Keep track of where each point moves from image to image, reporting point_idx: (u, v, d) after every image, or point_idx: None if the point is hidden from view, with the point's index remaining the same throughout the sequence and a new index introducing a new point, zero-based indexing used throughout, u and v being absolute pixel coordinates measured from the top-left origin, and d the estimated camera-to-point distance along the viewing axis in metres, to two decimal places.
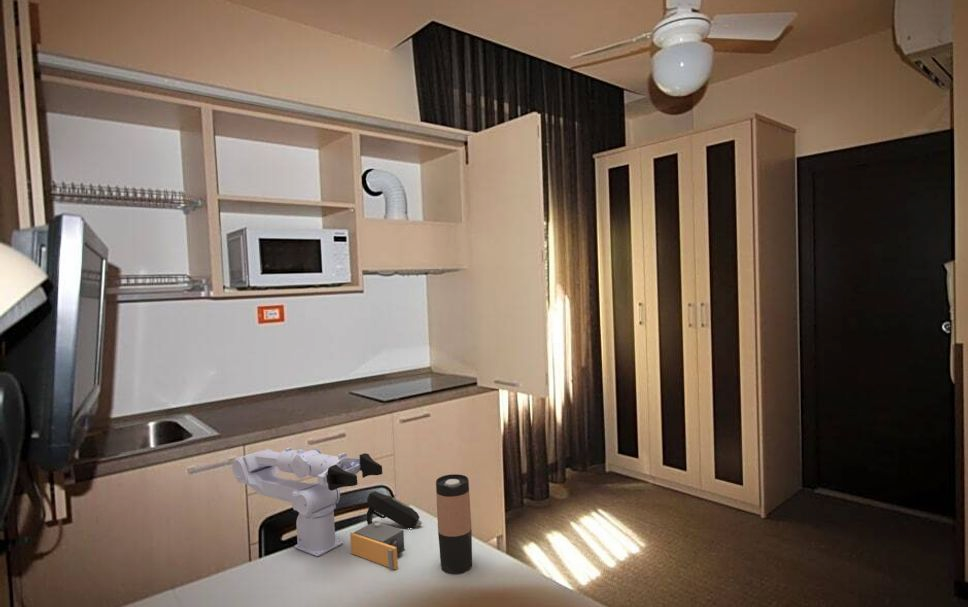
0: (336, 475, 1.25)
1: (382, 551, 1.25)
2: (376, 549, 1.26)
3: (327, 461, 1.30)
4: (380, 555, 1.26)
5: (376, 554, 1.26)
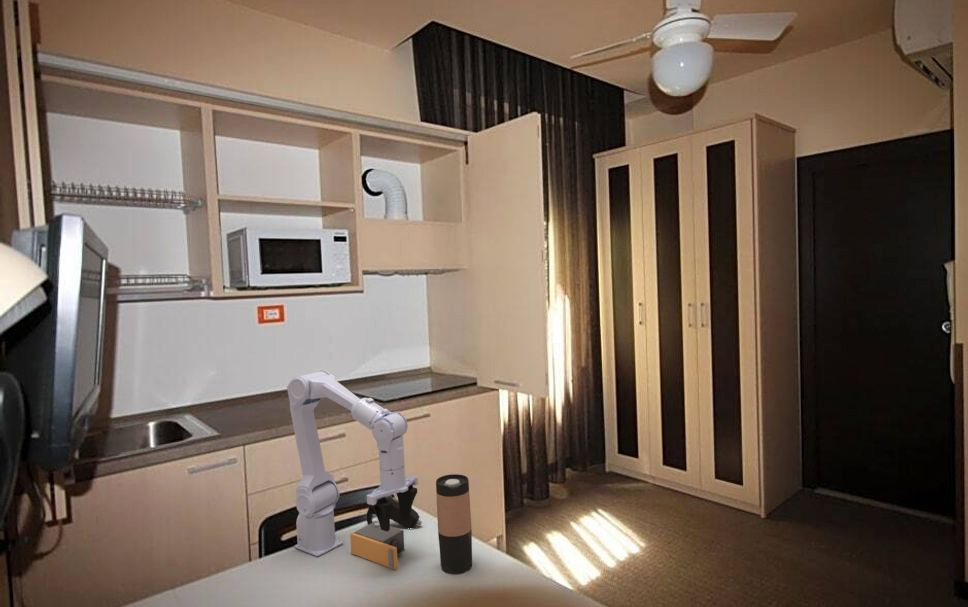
0: None
1: (382, 551, 1.25)
2: (376, 549, 1.26)
3: (393, 476, 1.22)
4: (380, 555, 1.26)
5: (376, 554, 1.26)
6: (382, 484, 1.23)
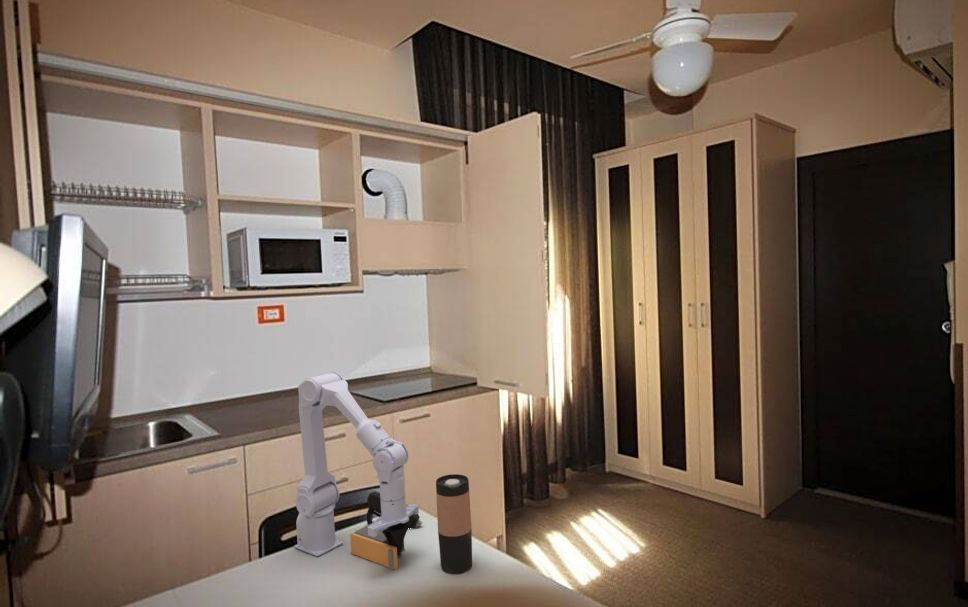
0: None
1: (382, 551, 1.25)
2: (376, 549, 1.26)
3: (394, 507, 1.22)
4: (380, 555, 1.26)
5: (376, 554, 1.26)
6: (383, 515, 1.23)
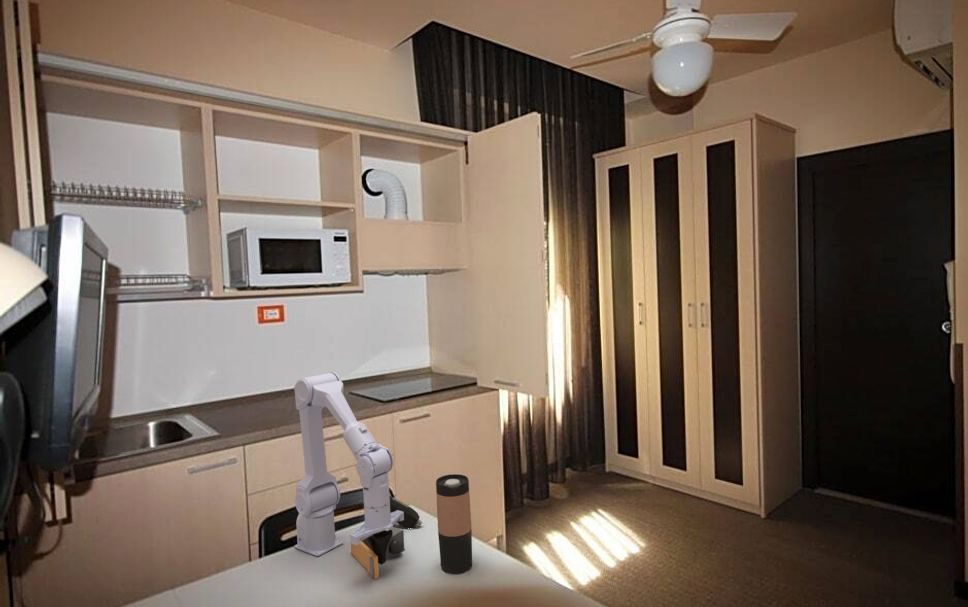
0: None
1: (367, 557, 1.23)
2: (364, 554, 1.24)
3: (378, 514, 1.19)
4: (366, 561, 1.23)
5: (364, 559, 1.24)
6: (366, 522, 1.20)
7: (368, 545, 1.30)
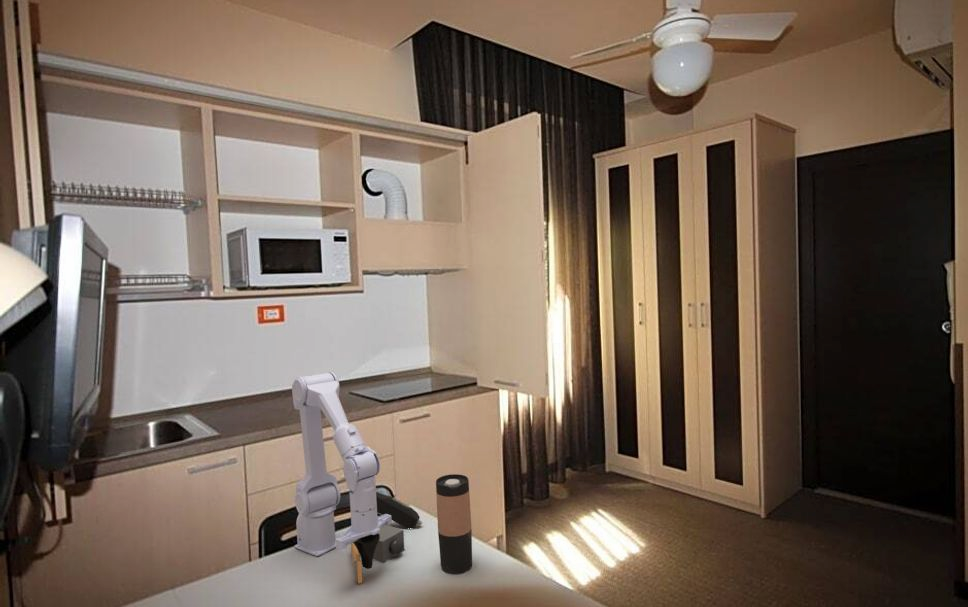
0: None
1: (355, 560, 1.21)
2: (354, 556, 1.23)
3: (364, 518, 1.17)
4: None
5: None
6: (353, 526, 1.18)
7: None
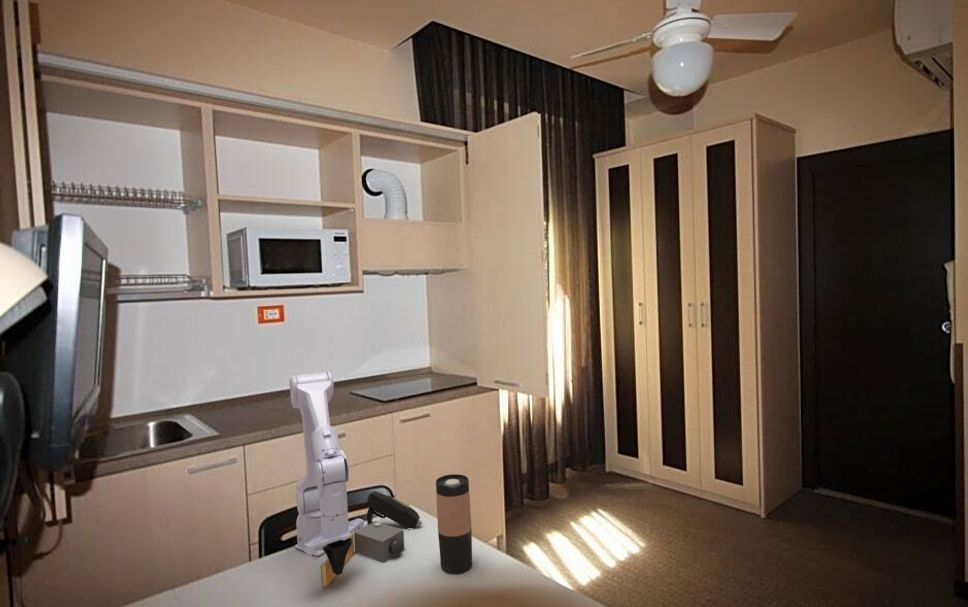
0: None
1: None
2: None
3: (334, 523, 1.15)
4: None
5: None
6: (323, 531, 1.16)
7: (368, 545, 1.30)
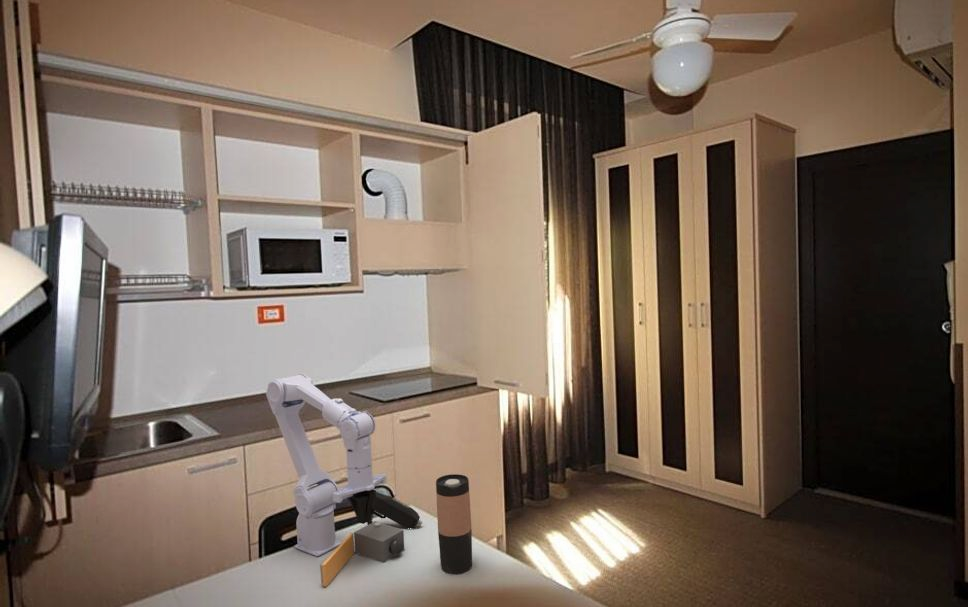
0: None
1: None
2: None
3: (360, 475, 1.25)
4: None
5: None
6: (349, 482, 1.26)
7: (368, 545, 1.30)
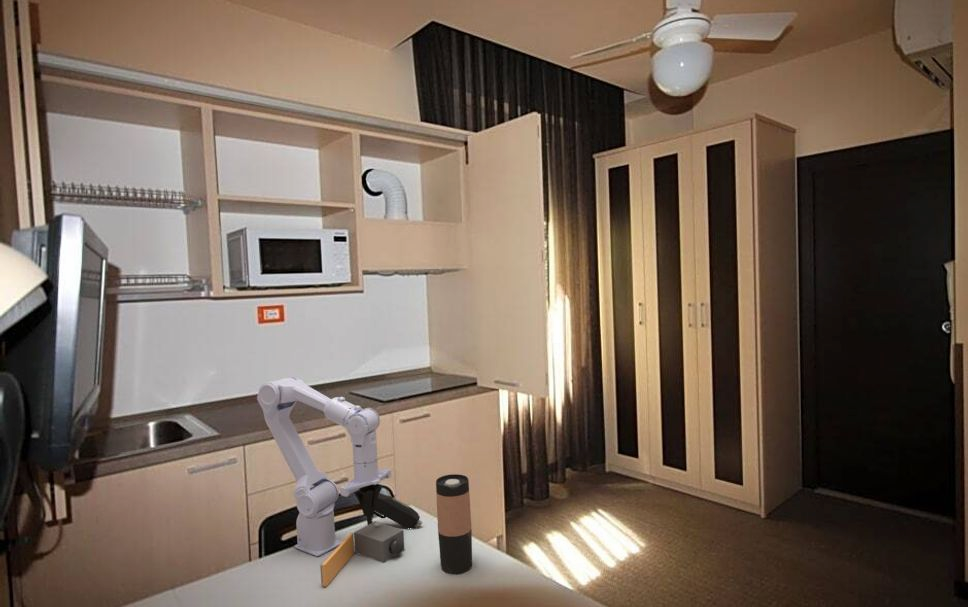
0: None
1: None
2: None
3: (366, 469, 1.28)
4: None
5: None
6: (355, 477, 1.29)
7: (368, 545, 1.30)
